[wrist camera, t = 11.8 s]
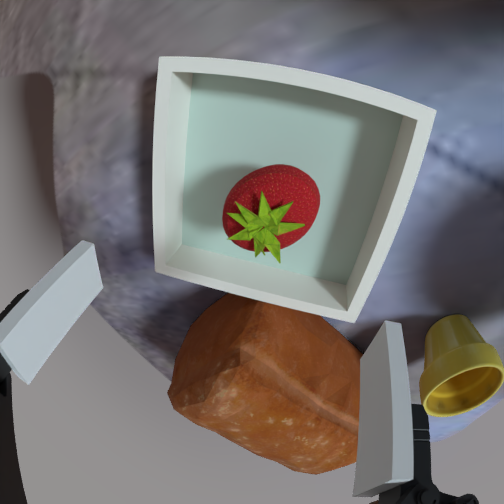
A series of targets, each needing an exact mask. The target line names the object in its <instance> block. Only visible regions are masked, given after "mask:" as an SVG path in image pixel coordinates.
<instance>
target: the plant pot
mask: <svg viewBox="0 0 504 504" xmlns="http://www.w3.org/2000/svg"><path fill="white" fill-rule="evenodd" d="M503 381H504V367H503V365H502V362H501V359H500V357H499V355H498V353H497V351H496V349H495V348H494V347H493V346H492V345H490V344H488V343H486V342H485V341H484V339H483V338H482V337H481V335H480V334H479V332H478V331H477V330H476V328H475V327H474V326H473V324H472V323H471V322H470V320H469V319H468V318H467V317H466V316H464V315H459V314H456V315H450V316H447V317H444V318H442V319H440V320H439V321H437V322H436V323H435V324H434V325H432V326H431V328H430V329H429V330H428V332H427V334H426V337H425V362H424V372H423V373H422V375H421V378H420V382H419V387H420V398H421V404H422V405H423V406H424V409H425V411H426V413H427V414H429V415H431V416H435V417H449V416H454V415H458V414H462V413H465V412H467V411H470V410H472V409H474V408H476V407H478V406H480V405H481V404H483V403H484V402H486V401H487V400H488V399H490V398H491V397H492V396H493V395H494V394H495V393H496V392H497V391H498V390H499V388H500V387H501V385H502V383H503Z"/></svg>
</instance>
